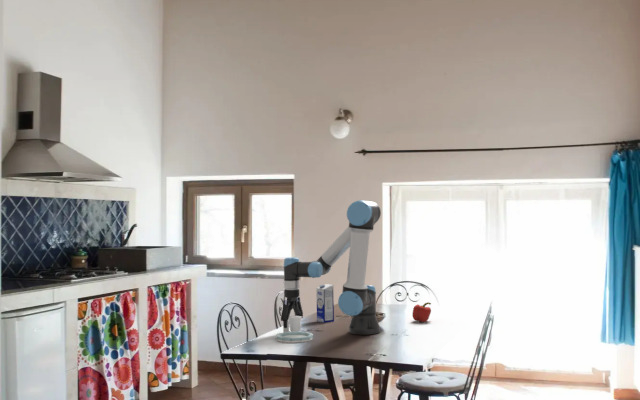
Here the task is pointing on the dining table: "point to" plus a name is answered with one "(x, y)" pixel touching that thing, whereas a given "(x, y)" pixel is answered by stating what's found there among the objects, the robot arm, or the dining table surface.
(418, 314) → the vegetable
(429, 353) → the dining table surface
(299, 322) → the cup
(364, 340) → the dining table surface
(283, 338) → the saucer
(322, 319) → the milk carton
